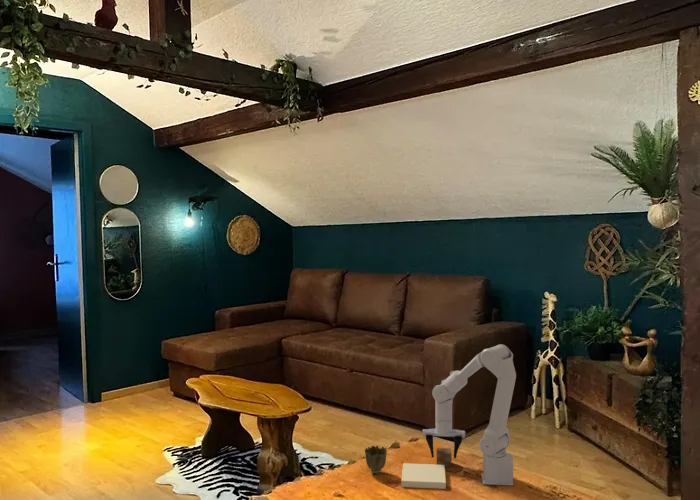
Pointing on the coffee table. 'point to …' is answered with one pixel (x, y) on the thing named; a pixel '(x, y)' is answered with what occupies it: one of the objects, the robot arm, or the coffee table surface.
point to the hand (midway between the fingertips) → (443, 456)
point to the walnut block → (444, 457)
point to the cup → (375, 458)
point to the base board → (423, 476)
